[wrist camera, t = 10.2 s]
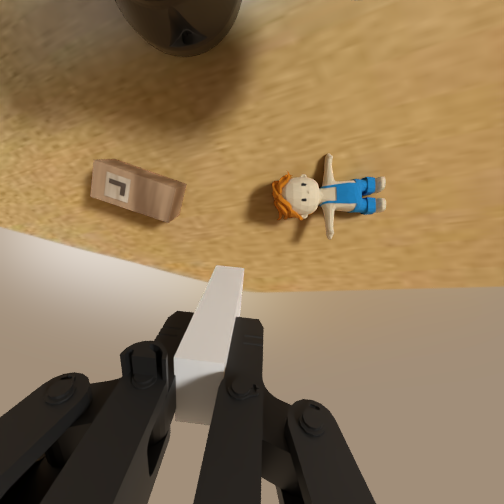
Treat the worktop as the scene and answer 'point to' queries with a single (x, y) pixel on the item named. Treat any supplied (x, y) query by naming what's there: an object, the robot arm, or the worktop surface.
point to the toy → (326, 196)
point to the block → (137, 189)
